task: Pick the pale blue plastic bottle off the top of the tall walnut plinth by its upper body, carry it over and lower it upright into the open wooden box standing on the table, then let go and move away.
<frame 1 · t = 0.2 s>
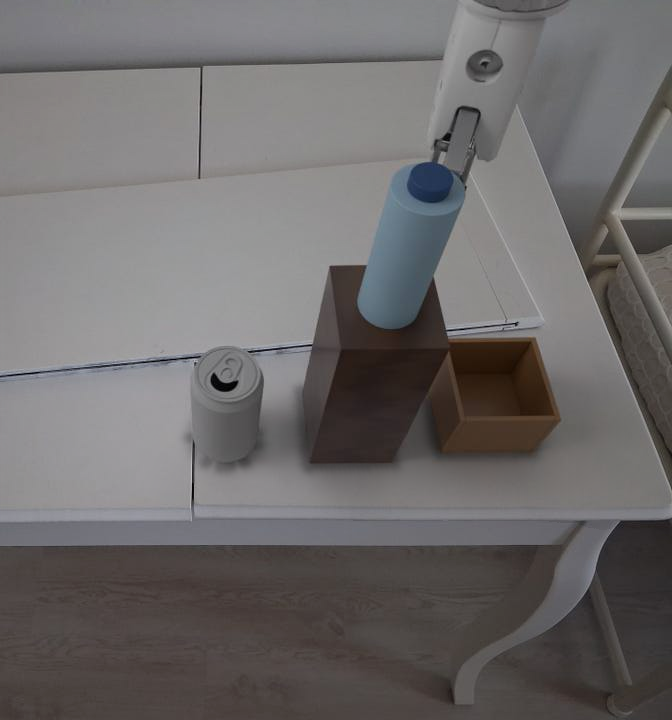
hand: (440, 179, 57), 24 cm above the table, tool pointing down, fingers open, 9 cm apart
beverage can: (224, 437, 72), on the table
bottle: (387, 304, 55), point 20 cm above the table, touching plinth
open wooden box: (477, 411, 72), on the table
plinth: (345, 426, 72), on the table
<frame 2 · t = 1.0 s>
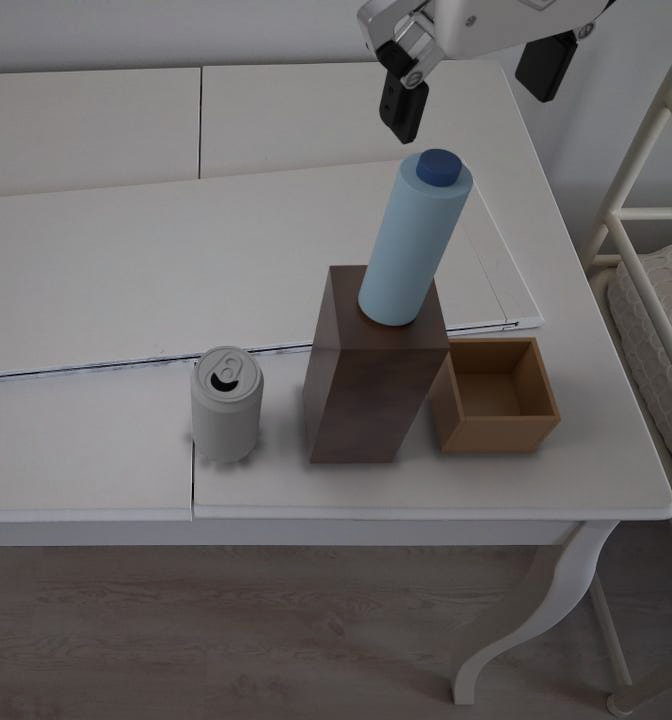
hand: (465, 109, 45), 35 cm above the table, tool pointing down, fingers open, 9 cm apart
bottle: (388, 302, 55), point 20 cm above the table, tilted 6°, touching plinth
everything else where it was.
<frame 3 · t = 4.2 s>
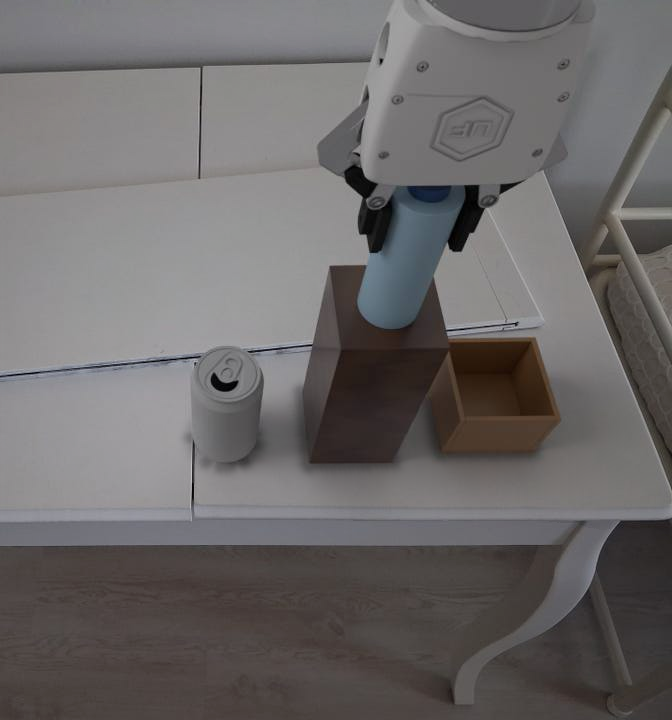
hand: (411, 234, 48), 28 cm above the table, tool pointing down, fingers closed on bottle, 4 cm apart
bottle: (387, 304, 55), point 20 cm above the table, touching gripper, plinth
everything else where it was.
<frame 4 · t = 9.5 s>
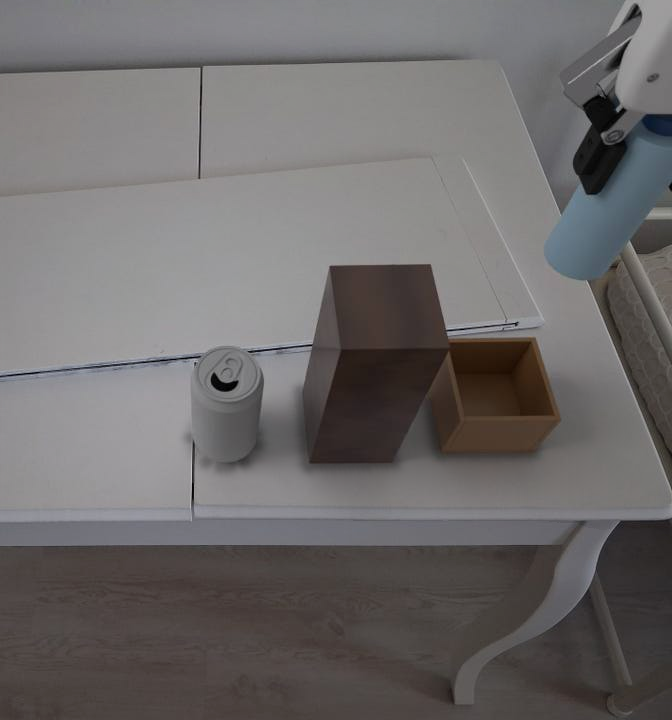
hand: (628, 176, 46), 31 cm above the table, tool pointing down, fingers closed on bottle, 4 cm apart
bottle: (576, 256, 53), point 23 cm above the table, touching gripper
everything else where it was.
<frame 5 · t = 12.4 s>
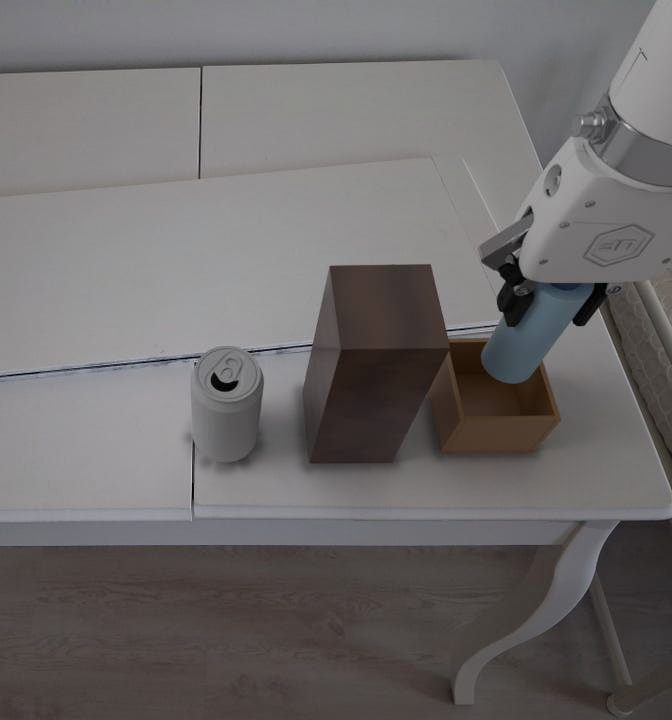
hand: (541, 310, 58), 17 cm above the table, tool pointing down, fingers closed on bottle, 4 cm apart
bottle: (507, 361, 65), point 9 cm above the table, touching gripper
everything else where it was.
when the fingers open (8 cm above the table, at t = 14.7 s): bottle stays where it is, resting on open wooden box.
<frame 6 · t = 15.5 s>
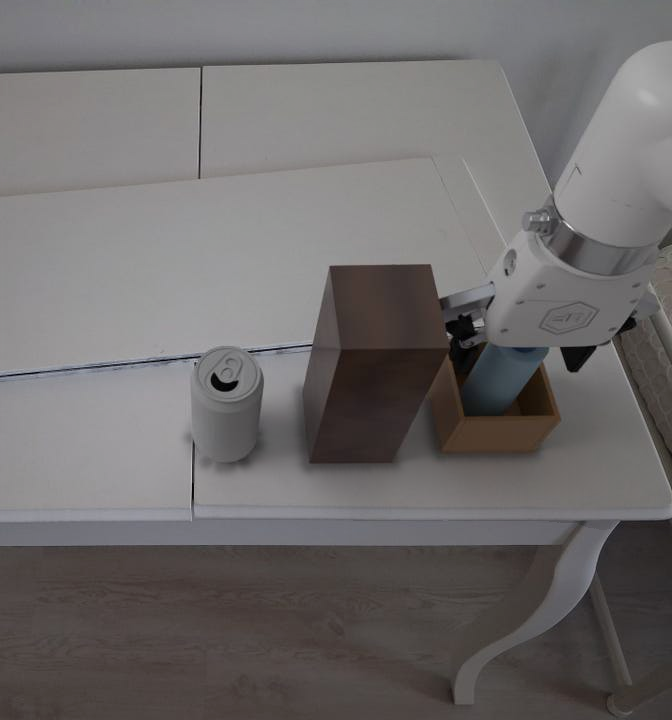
hand: (512, 359, 64), 10 cm above the table, tool pointing down, fingers open, 9 cm apart
bottle: (478, 408, 72), resting on open wooden box
everything else where it was.
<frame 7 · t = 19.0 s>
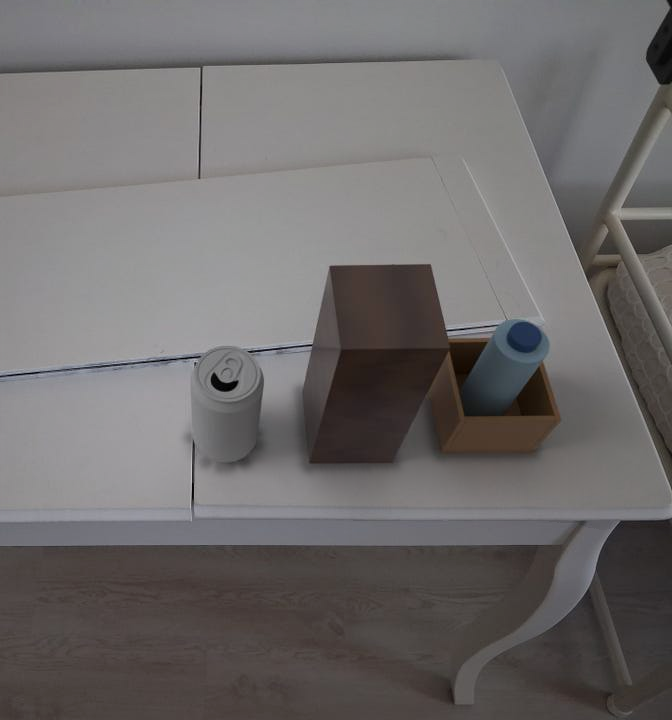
nothing on the table moved.
at the end: bottle 0.1 cm off-centre in the open wooden box, point 0.5 cm above the open wooden box's base; bottle tilted 0°; the gripper is holding nothing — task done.
